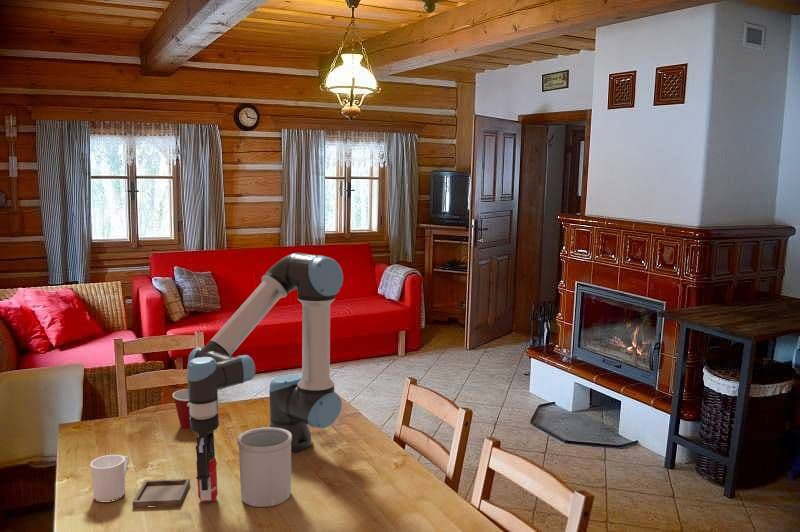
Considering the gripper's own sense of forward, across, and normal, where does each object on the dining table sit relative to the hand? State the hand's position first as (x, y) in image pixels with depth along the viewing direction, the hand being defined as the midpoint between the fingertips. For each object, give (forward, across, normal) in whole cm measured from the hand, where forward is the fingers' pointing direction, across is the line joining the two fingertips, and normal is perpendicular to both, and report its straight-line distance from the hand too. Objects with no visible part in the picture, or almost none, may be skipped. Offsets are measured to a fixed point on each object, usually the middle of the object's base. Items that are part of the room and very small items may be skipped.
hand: (208, 494), depth 189 cm
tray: (+2, -4, -13) cm, 14 cm away
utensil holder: (+2, -2, +16) cm, 16 cm away
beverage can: (+1, 0, 0) cm, 1 cm away
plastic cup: (+2, -56, -16) cm, 58 cm away
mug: (+2, -6, -27) cm, 28 cm away
